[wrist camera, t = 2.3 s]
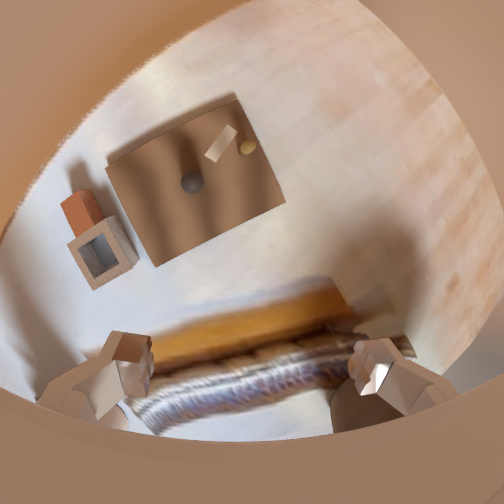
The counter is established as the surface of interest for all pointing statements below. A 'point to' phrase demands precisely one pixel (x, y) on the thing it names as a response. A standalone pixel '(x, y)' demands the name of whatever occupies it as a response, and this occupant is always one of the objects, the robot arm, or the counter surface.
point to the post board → (193, 210)
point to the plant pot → (358, 409)
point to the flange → (88, 228)
